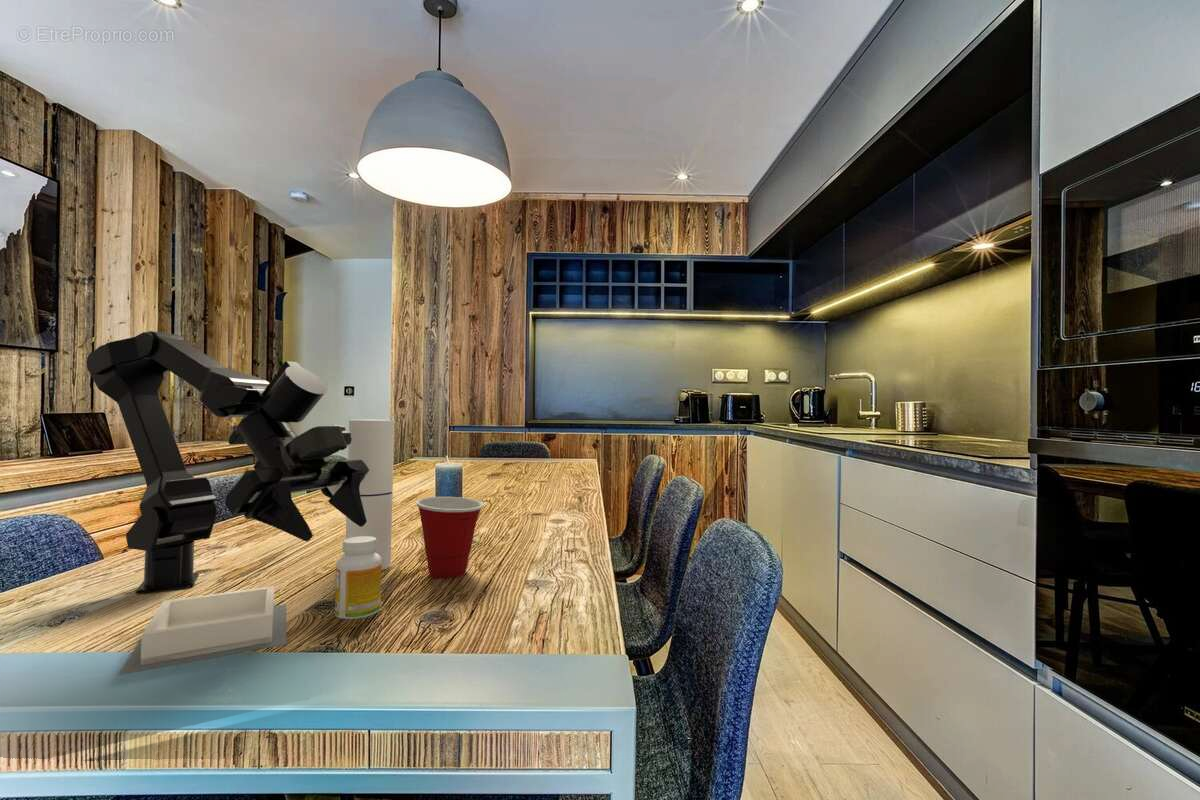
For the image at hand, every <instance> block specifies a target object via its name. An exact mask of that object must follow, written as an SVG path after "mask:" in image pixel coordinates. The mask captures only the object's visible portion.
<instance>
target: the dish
mask: <svg viewBox="0 0 1200 800" xmlns="http://www.w3.org/2000/svg"><path fill="white" fill-rule="evenodd" d="M274 606H275V586H274V585H273V586H264V587H256V588H250V589H242V590H235V591H226V592H221V593H220V592H218V593H212V594H205V595H204V594H203V595H197V596H189V597H182V598H174V599H166V600H163V601H162V602H161V604H160V606H159V607H158V609H157V610H156V612H155V613H154V615H153V616H152V618H151V620H150V621H149V622H148V625H147V626H146V628H145V629H144V631H143V632H142V634H141V638H142V640H141V665H144V664H150V663H156V662H161V661H167V660H172V659H178V658H184V657H189V656H195V655H201V654H206V653H212V652H217V651H223V650H229V649H234V648H240V647H245V646H251V645H257V644H262V643H268V642H272V631H273V611H274Z"/></svg>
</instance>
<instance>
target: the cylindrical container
mask: <svg viewBox="0 0 1200 800" xmlns="http://www.w3.org/2000/svg"><path fill="white" fill-rule="evenodd" d="M348 431H349V432H350V433H351V438H352V441H351V443H350V444H349V445H347V450H348V451H347V460H362V461H363V462H364V463H365V464H366V466H367V467H368V468H369V472H368V473H367V474H366V475H365V478H364V479H363V480H362V481H361V483H360V487H359V490H360V497H361V501H362V505H363V509H364V513H365V517H366V520H367V522H366V524H365V525H364V526H362V527H360V526H358V525H357V524H355V523H354V522H352V521H351V520H350V519H349V518H347V517H346V516H345V518H346V519H345V539H347V538H352V537H359V536H371V537H375V538H376V549H375V550H374V553H377V554H378V555H380V557H381V563H382V566H381V571H385V570H388V569H389V568H390V567H391V566H392V532H393V531H392V526H393V523H392V522H393V498H394V497H393V490H394V489H393V488H394V454H395V453H394V452H395V451H394V450H395V449H394V448H395V447H394V446H395V420H394V419H348ZM390 565H391V566H390ZM388 567H389V568H388ZM387 568H388V569H387ZM384 569H385V570H384Z"/></svg>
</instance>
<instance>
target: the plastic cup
mask: <svg viewBox="0 0 1200 800" xmlns="http://www.w3.org/2000/svg"><path fill="white" fill-rule="evenodd" d="M416 506H417V507H418V510H419V515H420V522H421V526H422V534H423V535H422V536H423V543H424V551H425V552H424V553H425V556H426V561H427V569H428V572H429V577H431V578H434V579H454V578H459V577H461V576H464V575H465V574H466V572H467V569H468V564H469V558H470V553H471V550H472V545H473V540H474V535H475V530H476V524H477V522H478V518H479V516H480V513H481V510H482V509H483V508H484V507H485V504H484V502H482V501H479V500H477V499H473V498H467V497H458V496H430V497H429V496H428V497H423V498H420V499H418V500H416Z"/></svg>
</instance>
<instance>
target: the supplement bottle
mask: <svg viewBox="0 0 1200 800" xmlns="http://www.w3.org/2000/svg"><path fill="white" fill-rule="evenodd" d="M375 549H376V538H375V537H371V536H359V537H352V538H347V539H346V538H345V539H343V540H342V552H343V553H344V555H342V556H341V557H339V558H338V560H336V565H335V593H334V594H335V598H334V614H335V615H334V616H335V617H337V618H338V619H343V620H344V619H345V620H347V619H348V620H351V619H352V620H353V619H354V620H355V619H360V618H365V617H366V618H367V617H369V616H372V615H375V614H376V613H378V612H380V610H381V600H382V595H381V593H382V569H381V566H382V563H381V557H380V555H378V554H377V553H374V550H375Z"/></svg>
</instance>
